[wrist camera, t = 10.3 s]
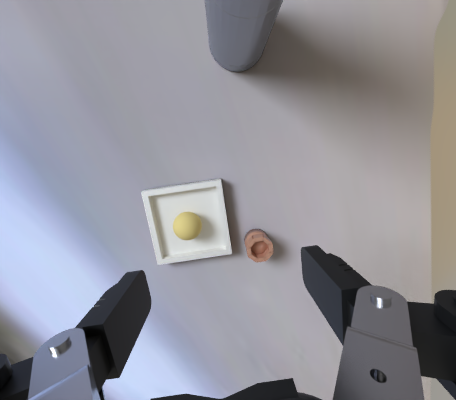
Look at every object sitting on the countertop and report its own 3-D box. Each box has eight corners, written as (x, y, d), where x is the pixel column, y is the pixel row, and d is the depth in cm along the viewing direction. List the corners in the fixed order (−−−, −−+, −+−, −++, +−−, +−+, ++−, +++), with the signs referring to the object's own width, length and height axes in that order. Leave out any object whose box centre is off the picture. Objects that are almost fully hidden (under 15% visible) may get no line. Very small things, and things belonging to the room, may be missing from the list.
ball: (173, 210, 40) (166, 218, 35) (200, 206, 39) (197, 213, 35) (179, 236, 40) (172, 247, 36) (205, 232, 40) (202, 242, 36)
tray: (146, 189, 40) (140, 191, 37) (220, 178, 40) (220, 179, 37) (161, 258, 42) (157, 265, 40) (231, 248, 42) (232, 253, 40)
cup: (242, 230, 42) (245, 239, 37) (266, 227, 42) (271, 235, 37) (245, 252, 43) (248, 263, 38) (268, 248, 43) (274, 259, 38)
